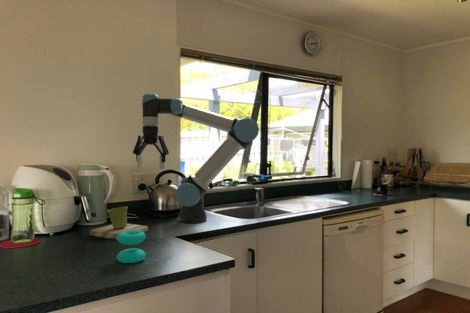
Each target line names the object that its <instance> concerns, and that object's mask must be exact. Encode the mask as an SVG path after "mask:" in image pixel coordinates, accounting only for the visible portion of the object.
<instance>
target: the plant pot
mask: <svg viewBox="0 0 470 313" xmlns="http://www.w3.org/2000/svg"><path fill="white" fill-rule="evenodd" d="M128 208H129V207H128V206H119V207H115V208H111V209H107V210H106V212H107V214H108V216H109V218H110V221H111V225H113V228H114V229H116V228H117V229H118V228H120V227H125V226H127V224H128V217H127V214H128Z"/></svg>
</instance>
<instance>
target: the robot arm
mask: <svg viewBox="0 0 470 313" xmlns="http://www.w3.org/2000/svg"><path fill="white" fill-rule="evenodd" d="M141 103H142V104H141V105H142V135H140V134H139V135H138V136H137V141H136V143H135V146H134V148H133V151H132V154H133V155H136V156H135V157H136V158H135V160H136V169H143V155H142V153H143V152H144V150H145V148H147V146H148V145H149V146H150V145H151V146H152V145H153V146H154V147H155V148H156V151H158V152H159V154H160V155H159V170H165V163H166V156H167V155H170V152H169V148H168V147H167V145H166V142H165V139H164V135H161V134H160V135H158V134H159V127H158V125H159V115H160V114H163V115H164V114H166V115H168V114H169V115H171V116H174V117H178V118H182V119H185V120H188V121H191V122H194V123H196V124H200V125H203V126H206V127H210V128H212V129H216V130H219V131H222V132H225V133H226V135H227V136H226V139H225V140H224V141H223V142H222V143H221V145H220V146H219V147H218V148H217V149H216V150H215V151H214V152H213V153H212V154H211V156H209V158H208V159H207V160H206V161H205V162H204V163H203V164H202V165H201V166H200V168H199V169H198V170H197V171H196V172H195V173H191V174H189V175H188V177H182V178H181V182H180V185H179V186H177V188H176V192H175V196H176V200H177V202H178V203H179V204H180V205H181V206H180V210H179V213H178V216H177V217H178V218H177V222H179V223H183V224H200V223H205V222H206V221H207V218H208V216H207V212H206V211H205V207H204V195H205V194H206V193H207V192H208V191H209V188H208V187H209V186H210V184H211V183H212V182H213V181H214V179H215V178H216V177H217V176H218V175H219V174H220V173H221V171H223V170H224V169H225V167H227V165H228V164H229V163H230V161H232V159H234V157H235V156H236V155H237V154H238V153H239V152H240V151H241V150H246V149H247V148H248V147H249V145H250V144H251V143H252V142H253V141H254V140H256V139H257V137H258V135H259V133H260V132H259V131H260V128H259V125H258V123H257V121H256V120H254V119H253V118H251V117H248V116H247V117H242V118H238V117H228V116H226V115H222V114H220V113H219V114H218V113H216V112H212V111H209V110H205V109H202V108H199V107H195V106H193V105H190V104H187V103H183V99H181V98H176V97H174V98H173V97H171V98H170V97H169V98H159V96H158V94H157V93H145V94H143V95H142V102H141Z"/></svg>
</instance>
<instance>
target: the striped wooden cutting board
mask: <svg viewBox="0 0 470 313" xmlns="http://www.w3.org/2000/svg"><path fill="white" fill-rule="evenodd" d="M130 230H138V231H142V232H144V233H146V231H147V232H148V231H149V226H148V225H141V224H134V223H127V226H125V227H120V228H118V229H117V228H116V229H114V228H113V225H112V224H109V225H105V226H100V227H98V228H93V229H90V232H89V234H90V236H94V237H99V238H105V239H111V238H112V240H117V235H118V234H119V233H121V232H124V231H130Z"/></svg>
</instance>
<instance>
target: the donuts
mask: <svg viewBox="0 0 470 313" xmlns="http://www.w3.org/2000/svg"><path fill="white" fill-rule="evenodd" d="M145 239H146V232H142V231H138V230H130V231H124V232H121V233H119V234H118V235H117V239H116V241H117V242H118V243H120V244H122V245H127V246H129V245H130V246H131V245H137V244H141V243H142V242H143V241H145ZM146 256H147V255H146V252H145V251H144V250H143V249H142V248H141V249H140V248H126V249H123V250H121V251H119V252H118V253H117V255H116V260H117V262H119V263H121V262H122V263H121V264H124V263H133V264H136V263H135V262H138V263H140V262H139V261H141V262H143V261H144V260H145V259H146ZM142 260H143V261H142Z"/></svg>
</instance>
